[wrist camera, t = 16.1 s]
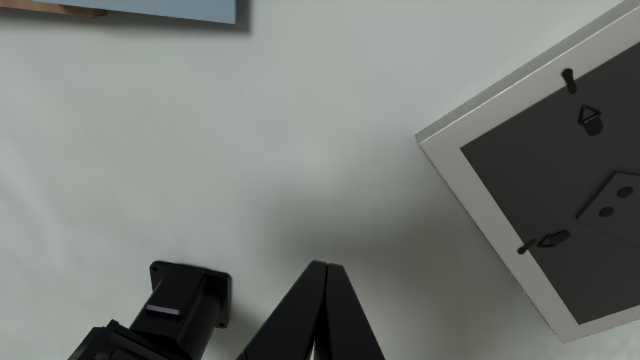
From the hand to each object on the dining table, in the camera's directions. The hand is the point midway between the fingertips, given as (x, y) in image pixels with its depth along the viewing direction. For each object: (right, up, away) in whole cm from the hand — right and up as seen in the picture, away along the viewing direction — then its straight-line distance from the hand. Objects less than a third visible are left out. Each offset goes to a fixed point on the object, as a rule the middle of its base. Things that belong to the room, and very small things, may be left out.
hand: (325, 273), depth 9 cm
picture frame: (+18, +2, +13) cm, 22 cm away
